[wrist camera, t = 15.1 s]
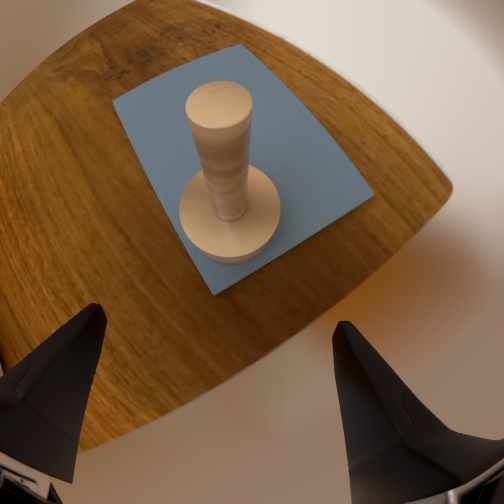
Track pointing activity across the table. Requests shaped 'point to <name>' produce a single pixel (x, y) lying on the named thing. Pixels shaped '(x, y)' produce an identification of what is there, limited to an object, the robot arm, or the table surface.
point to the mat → (261, 155)
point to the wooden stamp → (226, 179)
